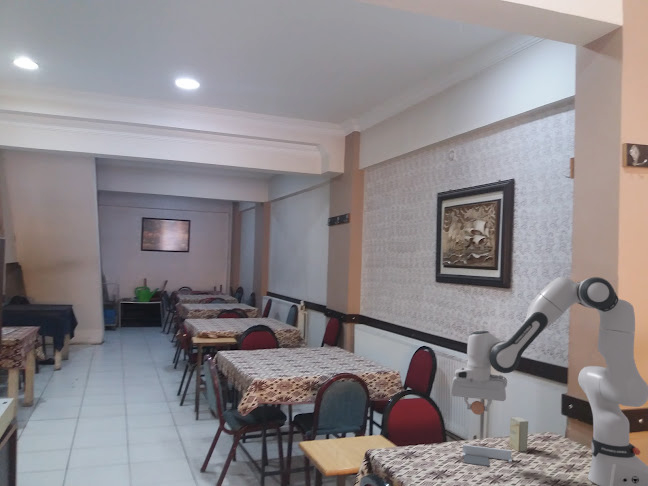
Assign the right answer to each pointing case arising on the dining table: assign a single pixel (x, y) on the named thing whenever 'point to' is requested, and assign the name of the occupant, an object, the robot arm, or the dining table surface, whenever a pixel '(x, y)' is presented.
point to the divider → (487, 452)
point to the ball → (477, 407)
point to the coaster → (476, 460)
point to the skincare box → (518, 434)
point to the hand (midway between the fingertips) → (477, 410)
